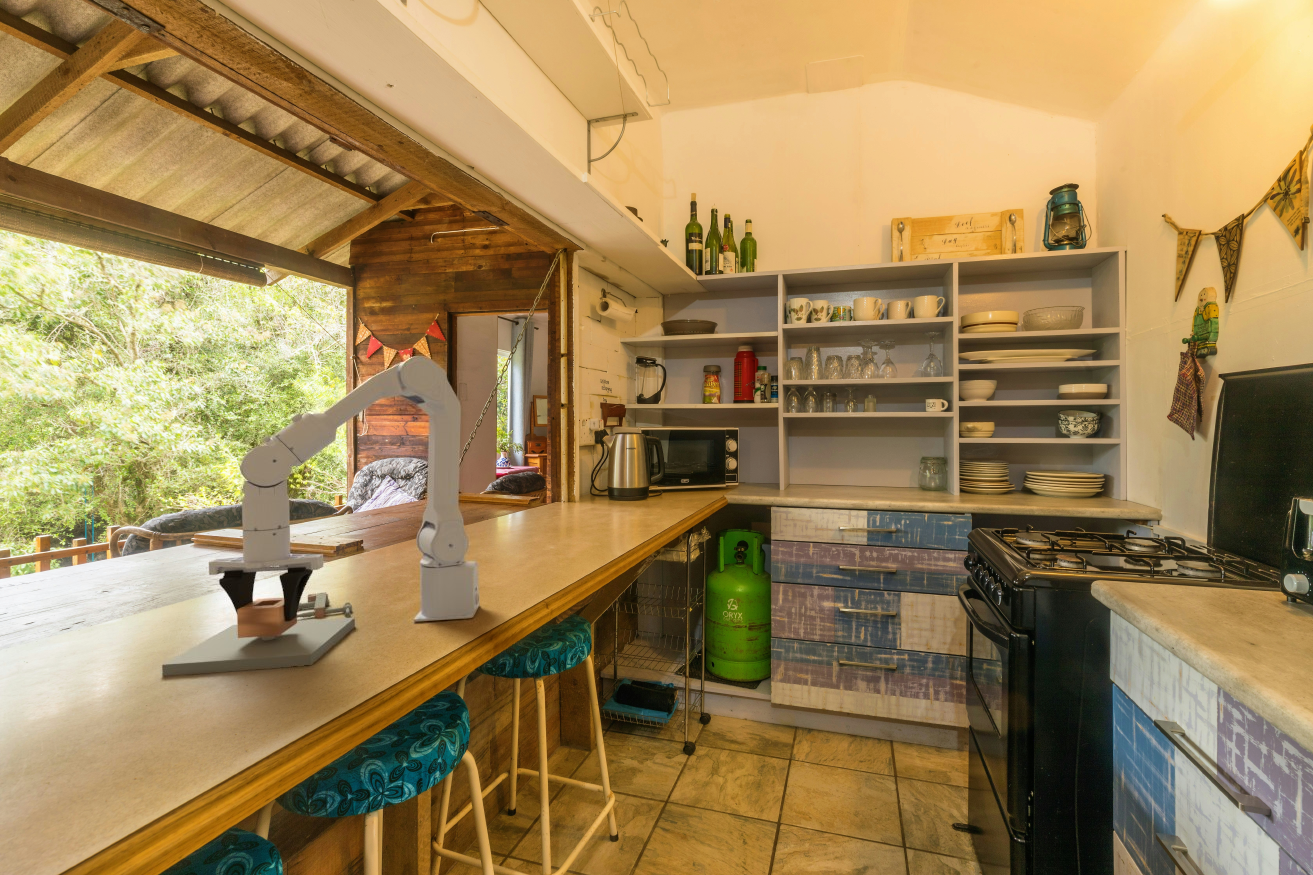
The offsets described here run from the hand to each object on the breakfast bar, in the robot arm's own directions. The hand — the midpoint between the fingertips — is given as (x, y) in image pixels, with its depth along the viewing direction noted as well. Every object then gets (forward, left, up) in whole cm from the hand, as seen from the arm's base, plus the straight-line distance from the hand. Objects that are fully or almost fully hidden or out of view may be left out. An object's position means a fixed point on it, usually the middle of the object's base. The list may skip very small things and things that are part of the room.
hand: (268, 620), depth 84 cm
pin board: (0, 0, -4) cm, 4 cm away
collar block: (0, 0, -1) cm, 1 cm away
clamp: (0, -18, -5) cm, 19 cm away
